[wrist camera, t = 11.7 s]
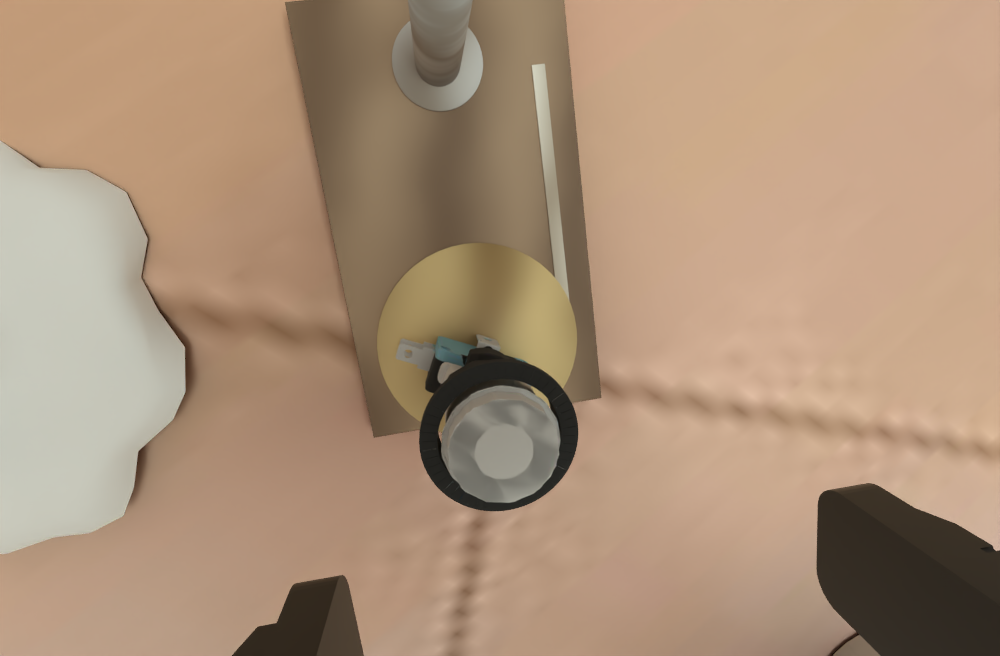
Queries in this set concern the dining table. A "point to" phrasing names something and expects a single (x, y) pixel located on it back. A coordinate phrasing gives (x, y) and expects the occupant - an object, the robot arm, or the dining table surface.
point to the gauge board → (450, 185)
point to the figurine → (75, 353)
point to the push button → (491, 424)
